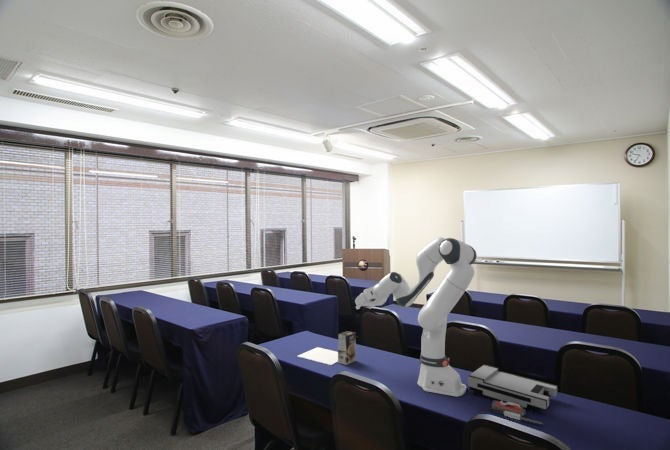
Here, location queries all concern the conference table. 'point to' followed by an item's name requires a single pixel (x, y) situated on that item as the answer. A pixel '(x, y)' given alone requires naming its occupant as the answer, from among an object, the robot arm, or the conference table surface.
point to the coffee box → (347, 347)
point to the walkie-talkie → (510, 410)
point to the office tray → (511, 388)
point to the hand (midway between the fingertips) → (363, 307)
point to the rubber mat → (321, 356)
